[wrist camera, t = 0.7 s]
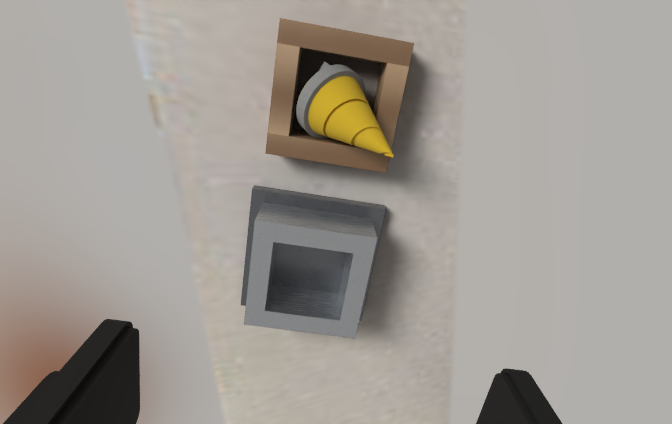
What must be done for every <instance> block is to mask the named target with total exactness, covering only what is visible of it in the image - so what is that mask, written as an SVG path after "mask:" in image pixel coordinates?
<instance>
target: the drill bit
mask: <svg viewBox="0 0 672 424" xmlns="http://www.w3.org/2000/svg"><path fill="white" fill-rule="evenodd" d="M296 114H297V119H298V122H299V124H300V125H301V126H302V128H304V129H305V130H306V131H307V132H308V133H309V134H310V135H311V136H312V137H315V138H317V139H327V138H333V139H336V140H339V141H342V142H345V143H348V144H351V145H355V146H357V147H360V148H364V149H367V150H370V151H373V152H376V153H379V154H380V153H384V155H385V156H389V157H392V158H393V157H394V155H393V153H392V151H391V149H390V147H389V145H388V143H387V141H386V139H385V137H384V135H383V132H382V130H381V128H380V126H379V124H378V122H377V120H376V118H375V116H374V114H373V112H372V110H371V108H370V106H369V104H368V102H367V99H366V97H365V86H364V83H363V80H362V78H361V77H360V76H359V75H358V74H357V73H355V72H354V71H353V70H351V69H350V68H349V67H347V66H345V65H339V64H335V65H329V64H328V63H326V62H325V61H324V63H323V64H322V66H321V68H320V70H319V71H318V72H317V73H316V74H315V75H314V76H312V77H311V78H310V80H309V81H308V82H306V85H305V86H304V88H303V89H302V91H301V93H300V96H299V98H298V102H297V108H296Z"/></svg>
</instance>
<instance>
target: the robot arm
mask: <svg viewBox="0 0 672 424" xmlns="http://www.w3.org/2000/svg"><path fill="white" fill-rule="evenodd" d="M139 379H140V374H139V330H138V329H135V328H133V325H132V323H131V322H127V321H119V320H111V319H106V320H104V321H103V322H102V323H101V324H100V325H99V327H98V328H97V329H96V330H95V331H94V332H93V333H92V334H91V336H90V337H89V338H88V339H87V340H86V341H85V342H84V344H83V345H82V346H81V347H80V348H79V349H78V350H77V352H76V353H75V354H74V355H73V356H72V357H71V359H70V360H69V361H68V362H67V363H66V364H65V365H64V367H63V368H62V369H61V370H60V371H54V372H52V373H50V374H49V375H48V376H46V377H45V378H44V379H43V380H42V381H41V383H39V385H38V386H37V387H36V388H35V389H34V390H33V391H32V392H31V394H30V395H29V396H28V397H27V398H26V399H25V400H24V401H23V402H22V403H21V405H20V406H19V407H18V408H17V409H16V410H15V411H14V412H13V413H12V414H11V416H10V417H9V418H8V419H7V420H6V421H5V422H4V423H3V424H136V422H137V419H138V416H139V411H140V385H139V384H140V383H139V381H140V380H139ZM476 424H562V423H561V421H560V419H559V418H558V416H557V415H556V413H555V412H554V410H553V409H552V407H551V406H550V404H549V402H548V401H547V400H546V398H545V396H544V395H543V393H542V392H541V390H540V389H539V387H538V386H537V384H536V382H535V381H534V379H533V378H532V376H531V375H530V374H529V373H528V372H526V371H522V370H514V369H503V370H502V371H501V373H498V374H496V375H495V377H494V379H493V382H492V385H491V387H490V390H489V392H488V395H487V397H486V400H485V402H484V405H483V407H482V410H481V413H480V415H479V418H478V420H477V423H476Z"/></svg>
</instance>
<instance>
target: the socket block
mask: <svg viewBox="0 0 672 424" xmlns="http://www.w3.org/2000/svg"><path fill="white" fill-rule="evenodd" d="M413 46H414V43H410V42H405V41H400V40H394V39H389V38H384V37H378V36H373V35H367V34H362V33H357V32H351V31H346V30H340V29H335V28H330V27H324V26H319V25H314V24H308V23H303V22H297V21H292V20H287V19H281V18H280V23H279V32H278V41H277V51H276V60H275V69H274V79H273V88H272V97H271V107H270V116H269V125H268V135H267V144H266V154H273V155H279V156H285V157H291V158H298V159H304V160H310V161H316V162H323V163H329V164H335V165H341V166H348V167H354V168H360V169H367V170H373V171H379V172H385V173H386V171H387V167H388V162H389V156H385V155H384V153H380V154H379V153H376V152H373V151H370V150H367V149H364V148H360V147H357V146H355V145H351V144H348V143H345V142H342V141H339V140H336V139H333V138H327V139H317V138H315V137H312V136H311V135H310V134H309V133H306V132H300V131H294V130H292V127H293V119H294V112H295V104H296V96H297V88H298V80H299V72H300V65H301V57H302V49H304V50H310V51H315V52H321V53H327V54H332V55H338V56H343V57H349V58H354V59H360V60H365V61H371V62H376V63H382V65H381V71H380V76H379V81H378V86H377V91H376V96H375V102H374V107H373V114H374V116H375V118H376V120H377V122H378V124H379V126H380V128H381V130H382V132H383V135H384V137H385V139H386V141H387V143H388V145H389V147H390V149H391V148H392V143H393V139H394V134H395V130H396V125H397V120H398V116H399V111H400V106H401V102H402V97H403V93H404V88H405V83H406V79H407V74H408V69H409V65H410V60H411V56H412V51H413Z"/></svg>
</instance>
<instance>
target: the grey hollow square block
mask: <svg viewBox="0 0 672 424" xmlns="http://www.w3.org/2000/svg"><path fill="white" fill-rule="evenodd" d="M385 211H386V208H385V206H384V205H379V204H372V203H366V202H359V201H353V200H346V199H340V198H333V197H326V196H320V195H313V194H307V193H300V192H294V191H287V190H281V189H274V188H268V187H261V186H255V185H254V187H253V188H252V196H251V206H250V217H249V227H248V237H247V247H246V257H245V267H244V277H243V288H242V298H241V305H245V306H246V310H245V319H244V324H245V325H253V326H261V327H268V328H276V329H284V330H292V331H300V332H308V333H316V334H324V335H332V336H339V337H347V338H355V337H356V332H357V328H358V323H359V320H360V321H361V318H362V314H363V310H364V305H365V301H366V296H367V292H368V287H369V283H370V278H371V274H372V269H373V265H374V260H375V256H376V251H377V247H378V242H379V238H380V233H381V229H382V224H383V220H384V215H385Z"/></svg>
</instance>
